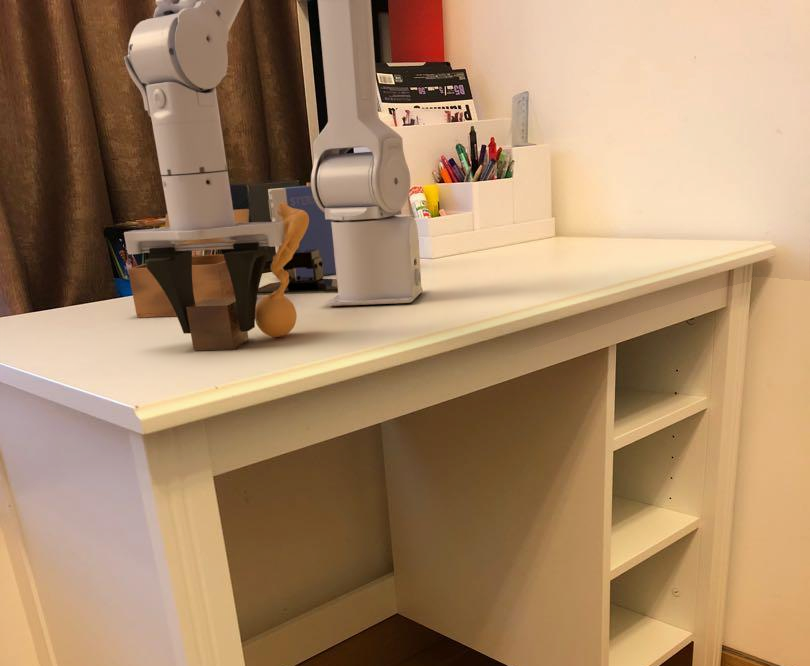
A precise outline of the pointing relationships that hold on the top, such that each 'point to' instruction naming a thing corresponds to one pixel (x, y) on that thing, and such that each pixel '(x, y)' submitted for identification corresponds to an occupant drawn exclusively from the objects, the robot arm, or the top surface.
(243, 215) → the flap
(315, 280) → the black angular piece
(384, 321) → the top surface
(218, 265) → the carton
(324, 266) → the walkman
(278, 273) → the figurine
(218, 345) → the block
